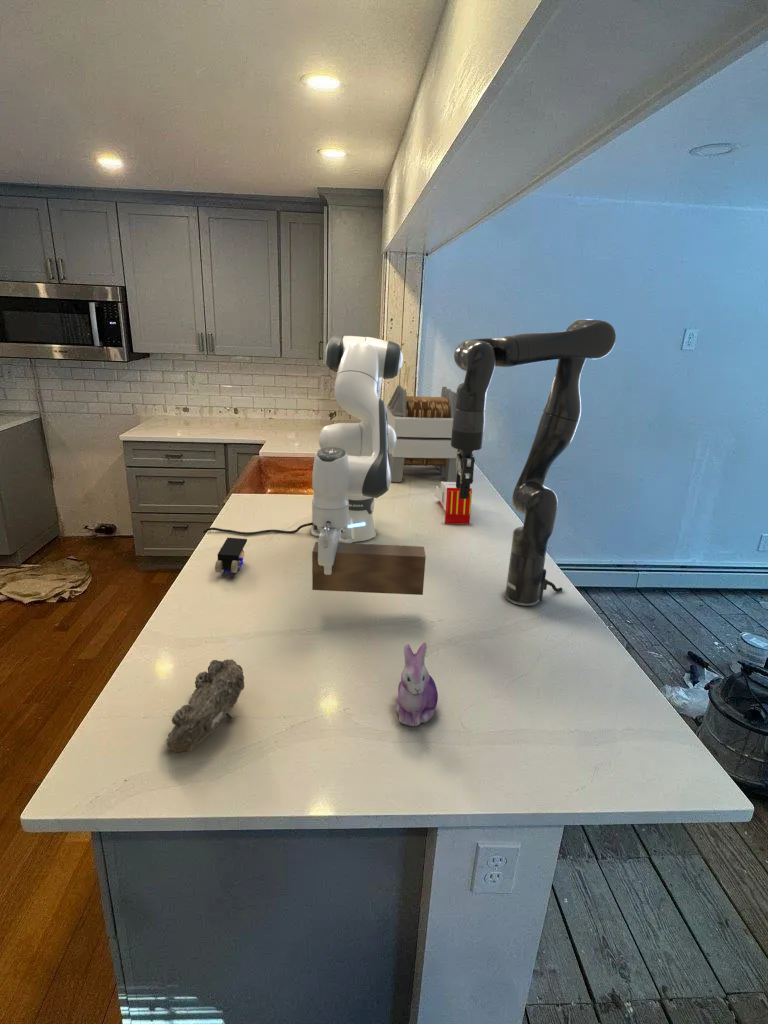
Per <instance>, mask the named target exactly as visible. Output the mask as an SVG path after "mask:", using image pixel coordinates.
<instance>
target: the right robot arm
mask: <svg viewBox="0 0 768 1024" xmlns="http://www.w3.org/2000/svg"><path fill="white" fill-rule="evenodd" d="M616 341H617V333H616V330H615V328H614V326H613V325H612V324H611V323H610V322H608V321H605V320H604V319H603V320H602V319H594V318H579V319H575V320H574V321H573V322H571V323H570V324H569V325H568V327H567V328H566V330H564V331H554V332H553V331H551V332H550V331H549V332H530V333H529V332H527V333H519V334H511V335H506V336H501V337H488V338H487V337H484V338H472V339H467V340H464V341H462V342H460V343H459V345H457V347H456V348H455V351H454V354H453V360H454V363H455V365H456V366H457V367H458V368H459V369H461V370H462V371H465V376H464V380H463V382H461V383H459V384H458V385H457V388H456V392H455V393H456V402H455V411H454V416H453V425H452V436H451V446H452V447H453V448H455V449H457V455H456V466H455V467H456V468H457V469H456V473H457V478H456V488H460V495H459V496H460V498H461V499H468V498H469V492H470V488H471V485H472V484H473V483H474V469H475V462H476V459H475V456H474V454H473V452H474V451H479V450H481V449H482V448H483V444H484V443H483V442H484V434H485V426H486V425H485V424H486V403H487V392H488V389H489V387H490V384H491V381H492V378H493V375H494V372H495V368H496V367H499V368H512V367H513V368H514V367H518V366H519V367H520V366H524V365H530V364H536V363H541V362H547V361H548V362H549V361H555V360H557V363H556V364H557V365H556V369H555V373H554V376H553V380H552V383H551V386H550V389H549V392H548V396H547V399H546V401H545V405H544V407H543V411H542V414H541V416H540V420H539V423H538V426H537V430H536V432H535V437H534V439H533V442H532V445H531V448H530V450H529V454H528V457H527V459H526V461H525V464H524V467H523V469H522V471H521V472H520V475H519V478H518V480H517V482H516V484H515V486H514V489H513V492H512V497H511V503H512V506H513V508H514V510H515V511H516V512H518V513H520V514H521V515H523V516H524V522H523V525H522V526H518V527H516V528H514V529H513V533H512V539H511V540H512V541H511V547H510V555H509V563H508V570H507V579H506V584H505V585H506V586H505V592H504V598H505V600H506V601H508V602H509V603H511V604H514V605H517V606H521V607H533V606H535V605H537V604H539V602H542V601H543V596H544V591H546V590H547V589H548V588H547V587H548V586H550V587H551V588H552V590H553V591H554V592H557V593H559V592H562V591H563V588H562V587H558V588H557V586H556V584H555V583H553V582H552V581H550V580H548V579H547V578H546V576H547V569H546V568H545V563H546V562H545V561H546V556H547V549H548V542H549V539H550V537H551V536H552V534H553V531H554V528H555V527H554V526H555V521H556V516H557V512H558V507H559V505H558V504H559V500H558V496H557V494H556V493H555V491H554V490H553V489H551V488H549V487H547V486H545V482H546V478H547V475H548V473H549V470H550V469H551V466H552V465H553V463H554V462H555V460H556V459H557V458H558V457H559V456H560V455H562V453H563V452H564V451H565V450H566V449H567V448H568V447H569V446H570V444H571V443H572V441H573V440H574V436H575V433H576V431H577V429H578V427H579V426H578V425H579V423H580V419H581V416H582V415H581V414H582V398H581V391H580V380H581V375H582V372H583V368H584V366H585V363H586V361H587V360H599V359H602V358H604V357H606V356H608V355H609V354H610V353H611V352H612V350H613V349H614V347H615V344H616ZM467 476H468V477H467Z"/></svg>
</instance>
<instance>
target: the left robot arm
mask: <svg viewBox="0 0 768 1024" xmlns="http://www.w3.org/2000/svg"><path fill="white" fill-rule="evenodd" d="M324 355H325V356H324V357H325V362H326V366H327V367H328V368H329V370H330V371H332V372H335V373H336V377H335V382H334V390H333V391H334V400H335V401H336V403H337V405H338V406H339V408H341V410H343V411H344V412H345V413H346V414H348V415H350V416H352V417H354V418H356V419H358V420H360V422H337V423H332V424H328V425H325V426H324V427H322V429H321V430H320V432H319V435H318V444H319V447H320V449H318V450H317V451H316V452H315V454H314V458H313V459H314V460H313V466H312V475H311V488H312V491H313V498H312V501H311V522H307V523H303V524H302V525H299V526H297V528H296V529H293V530H281V529H264V530H258V531H249V532H248V531H238V530H232V529H224V528H218V527H208V528H207V527H206V528H205V529H204V530H203V531H202V533H203V534H206V533H207V532H209V531H217V532H223V533H230V534H236V535H244V536H250V535H251V536H252V535H259V534H266V533H280V534H296V533H297V532H299V531H300V530H301V529H302V528H305V527H310V526H312V528H311V530H310V533H311V536H315V537H318V541H317V542H318V564H319V565H321V566H324V574H326V575H331V573H332V565H333V564H334V559H335V555H336V551H337V547H338V543H357V542H365V541H368V540H372V539H373V538H375V537H376V535H377V532H376V528H375V523H374V513H373V512H374V509H375V499H378V498H380V497H381V496H383V495H384V494H386V493H387V492H388V491H389V490H390V487H391V485H392V484H391V483H392V482H391V470H390V466H389V453H391V452H392V451H393V449H394V448H395V445H396V441H397V438H396V433H395V431H394V429H393V428H392V427H391V426H390V425H389V424H388V423H387V405H386V403H385V401H384V400H383V399H381V394H382V383H383V380H390V379H391V380H392V379H394V378H396V377H397V376H398V374H399V372H400V371H401V369H402V366H403V363H404V356H403V351H402V348H401V346H400V345H399V343H397V342H395V341H392V340H388V341H387V340H385V339H384V340H383V339H380V338H376V337H372V336H371V337H370V336H358V335H345V334H335V335H333V336H332V337H330V338H329V340H328V342H327V344H326V346H325V350H324ZM324 547H325V548H324Z"/></svg>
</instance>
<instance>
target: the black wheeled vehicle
mask: <svg viewBox="0 0 768 1024" xmlns="http://www.w3.org/2000/svg"><path fill="white" fill-rule="evenodd" d="M247 542H248V538H240V537H226V539H225V541H224V543H223V544H222V546H221V547H220V549H219V551H218V552H217V560H216V562H215V564H214V572H215V573H221V577H222V578H224V577H225V576H226V574H227V573H230V574H231V573H232V574H231V578H234V577H235V575H236V573H237V572H239V571H240V567H242V566H243V565H244V564H245V562H244V558H245V551H244V547H245V546H246V544H247Z"/></svg>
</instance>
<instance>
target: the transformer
mask: <svg viewBox="0 0 768 1024" xmlns="http://www.w3.org/2000/svg"><path fill="white" fill-rule="evenodd" d="M440 393H441V394H440V396H415V395H414V396H413V395H412V396H411V395H407V394H408V393H407V390H406V389H404V388H403V387H402V385H399V384H398V385H397V386H396V388H395V390H394V392H393V394H392V395H391V398H390V400H389V402H388V404H387V405H386V411H387V423H388V424H389V425H390V426H391V427H392V428H393V429H394V431H395V433H396V438H397V441H396V445H395V448H394V449H393V451H392V452H391V453H389V466H390V470H391V483H402V482H403V475H404V469H405V466H406V467H407V466H411V467H412V466H413V467H415V466H416V467H417V466H418V467H436V468H437V470H438V469H439V473H440V474H441V475H443V478H444V479H445V482H456V478H457V473H456V469H457V468H456V467H455V466H456V455H457V449H455V448H453V447H452V446H451V436H452V425H453V416H454V411H455V402H456V392H455V391H453V390H452V389H451V388H447V386H442V387H441V392H440Z"/></svg>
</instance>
